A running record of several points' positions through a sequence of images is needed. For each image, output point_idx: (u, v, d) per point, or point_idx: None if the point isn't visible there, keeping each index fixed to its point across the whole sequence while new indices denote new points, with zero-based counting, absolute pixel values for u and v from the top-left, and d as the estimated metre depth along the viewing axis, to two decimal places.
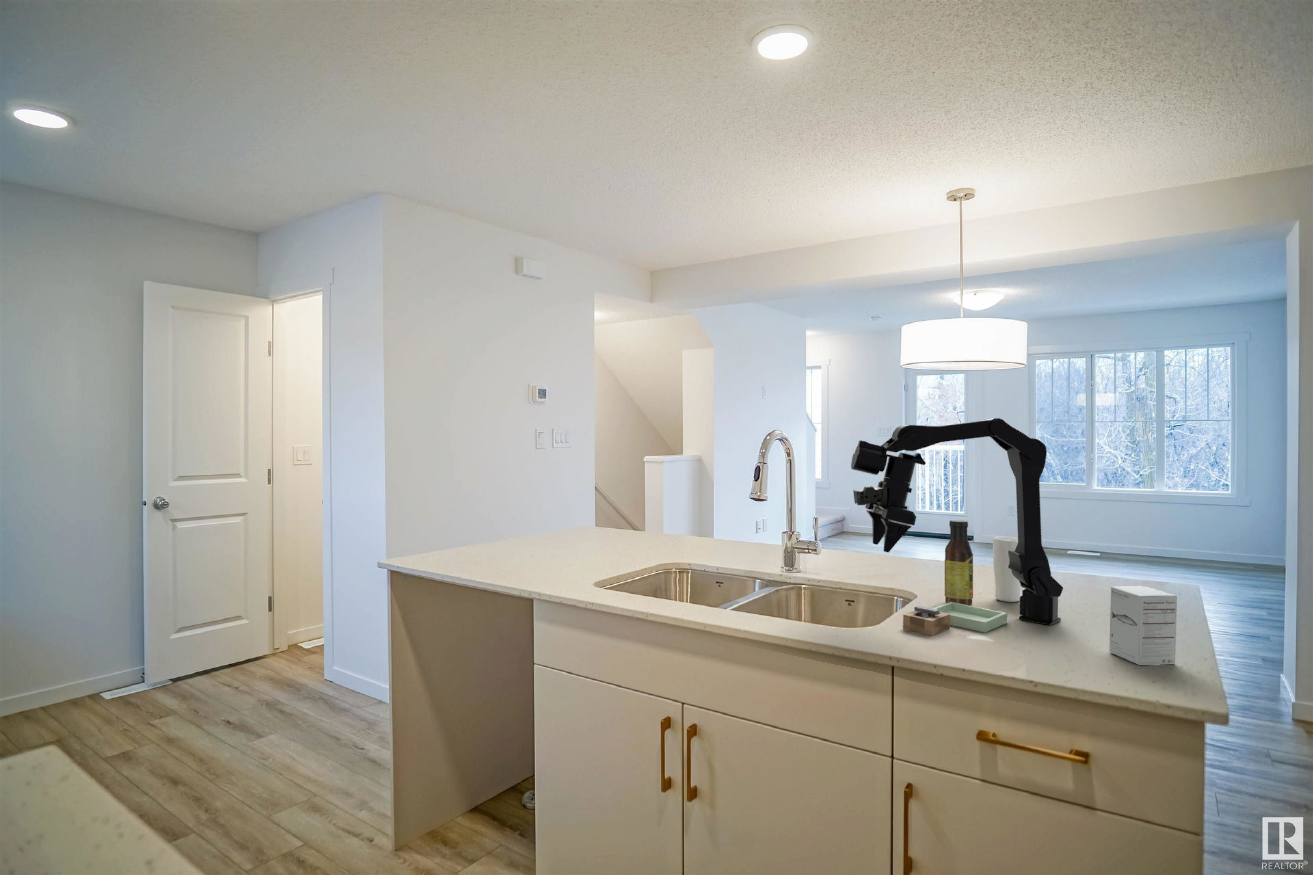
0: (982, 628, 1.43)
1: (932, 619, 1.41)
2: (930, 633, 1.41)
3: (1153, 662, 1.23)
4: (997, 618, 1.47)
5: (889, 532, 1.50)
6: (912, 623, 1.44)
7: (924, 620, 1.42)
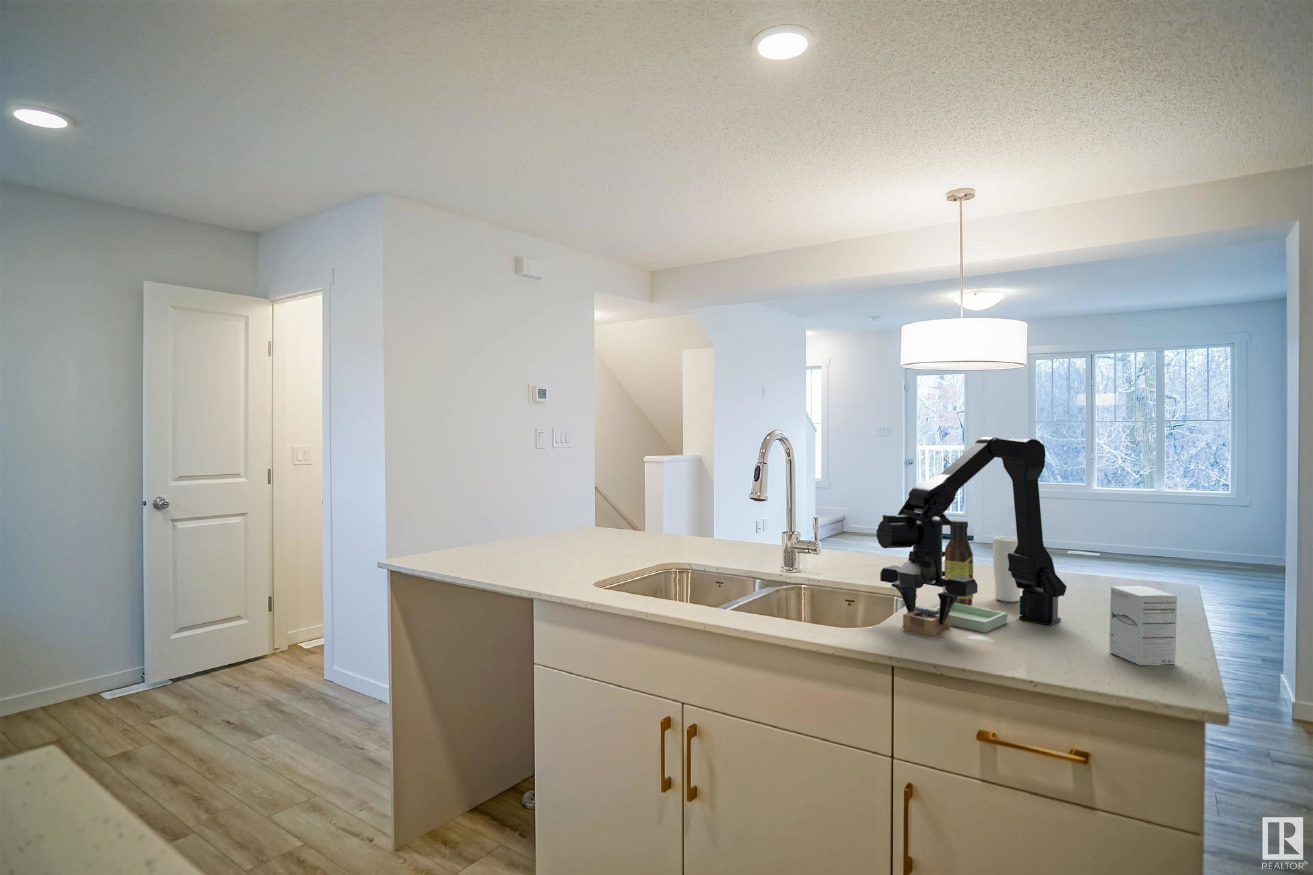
0: (982, 628, 1.43)
1: (932, 619, 1.41)
2: (930, 633, 1.41)
3: (1153, 662, 1.23)
4: (997, 618, 1.47)
5: (946, 605, 1.41)
6: (912, 623, 1.44)
7: (924, 620, 1.42)
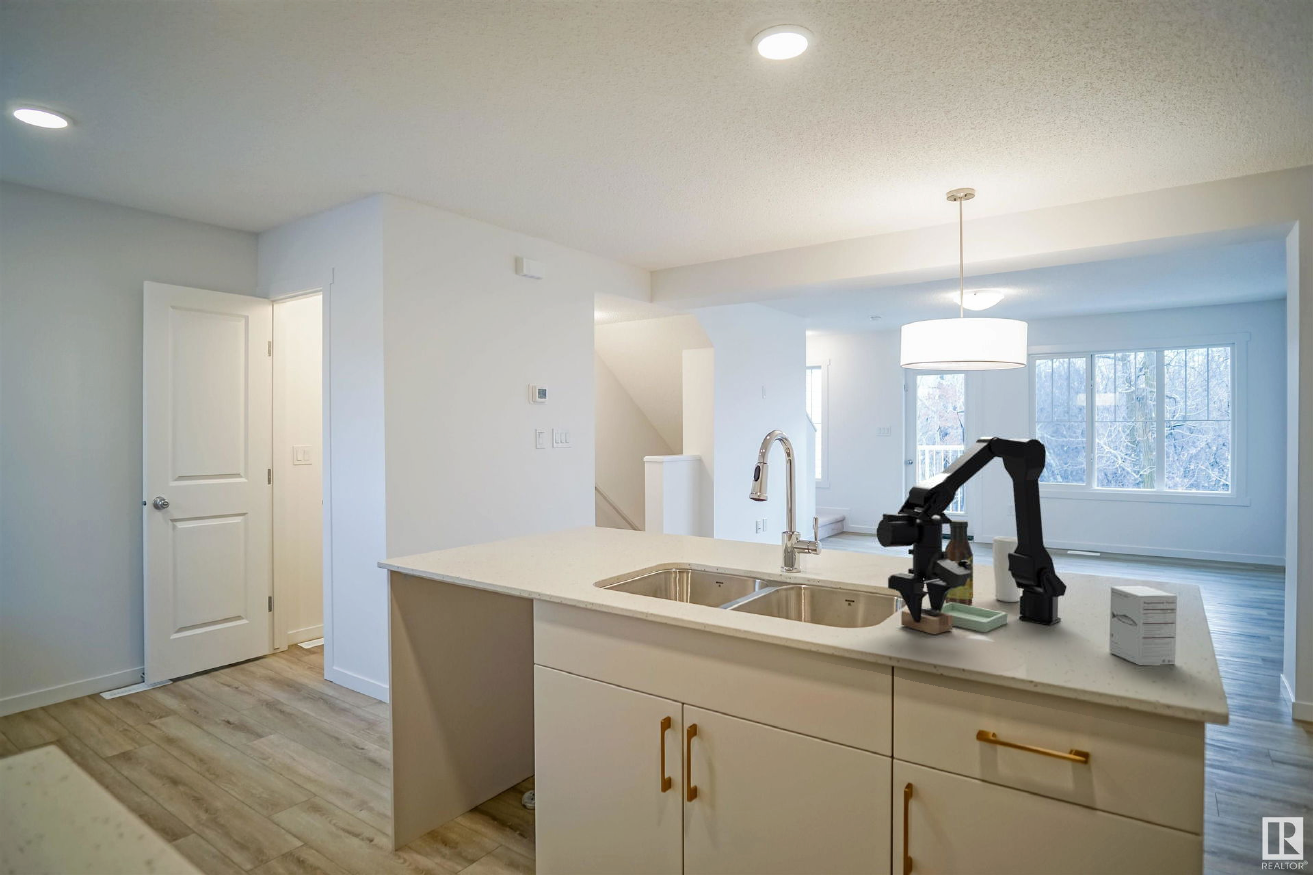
0: (982, 628, 1.43)
1: (946, 614, 1.44)
2: (951, 627, 1.44)
3: (1153, 662, 1.23)
4: (997, 618, 1.47)
5: None
6: (940, 624, 1.42)
7: (948, 617, 1.43)
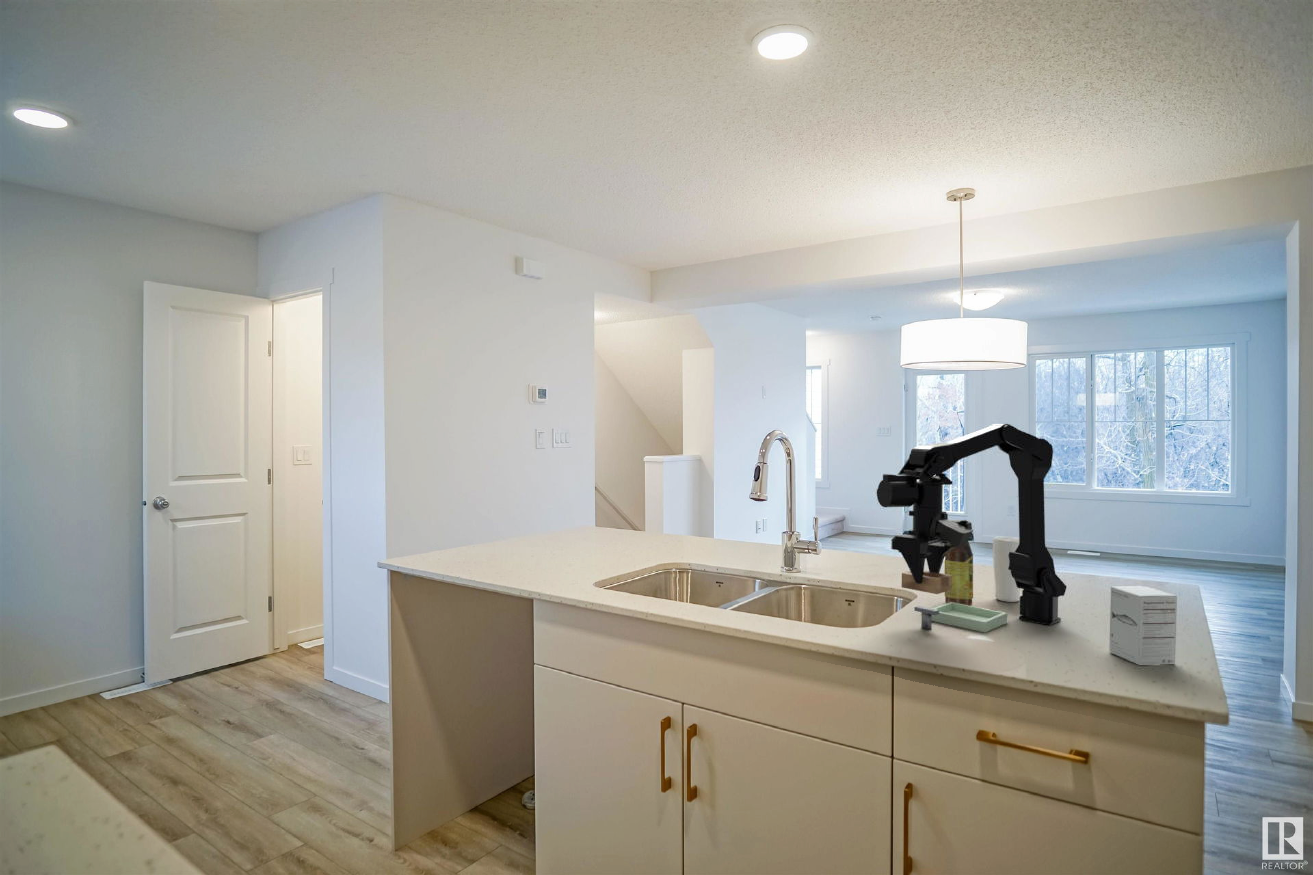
0: (982, 628, 1.43)
1: (946, 574, 1.45)
2: (951, 588, 1.44)
3: (1153, 662, 1.23)
4: (997, 618, 1.47)
5: None
6: (942, 585, 1.42)
7: (948, 577, 1.43)
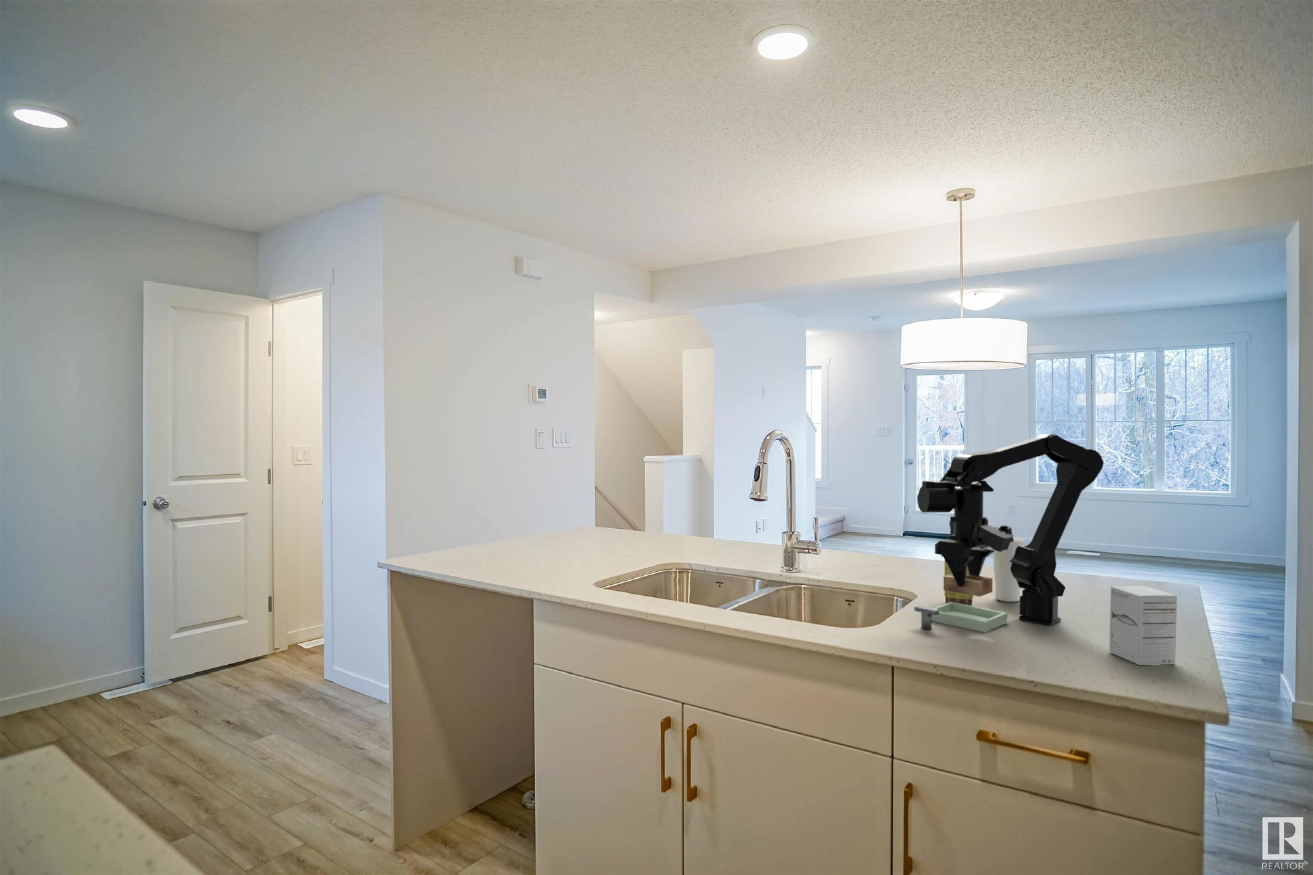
0: (982, 628, 1.43)
1: (986, 577, 1.51)
2: (991, 590, 1.50)
3: (1153, 662, 1.23)
4: (997, 618, 1.47)
5: None
6: (983, 587, 1.47)
7: (989, 580, 1.49)
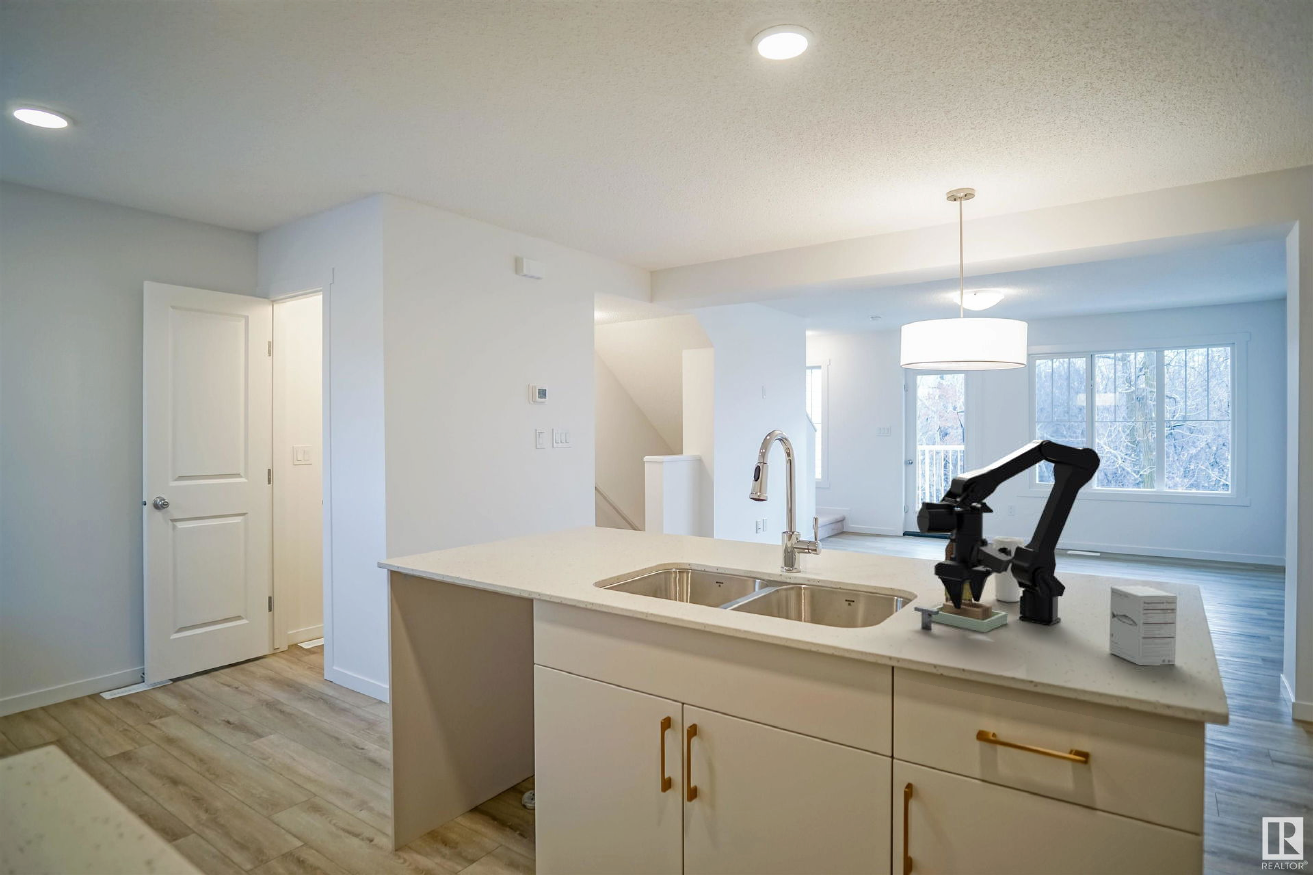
0: (982, 628, 1.43)
1: (985, 605, 1.51)
2: None
3: (1153, 662, 1.23)
4: (997, 618, 1.47)
5: None
6: (983, 615, 1.47)
7: (988, 608, 1.49)
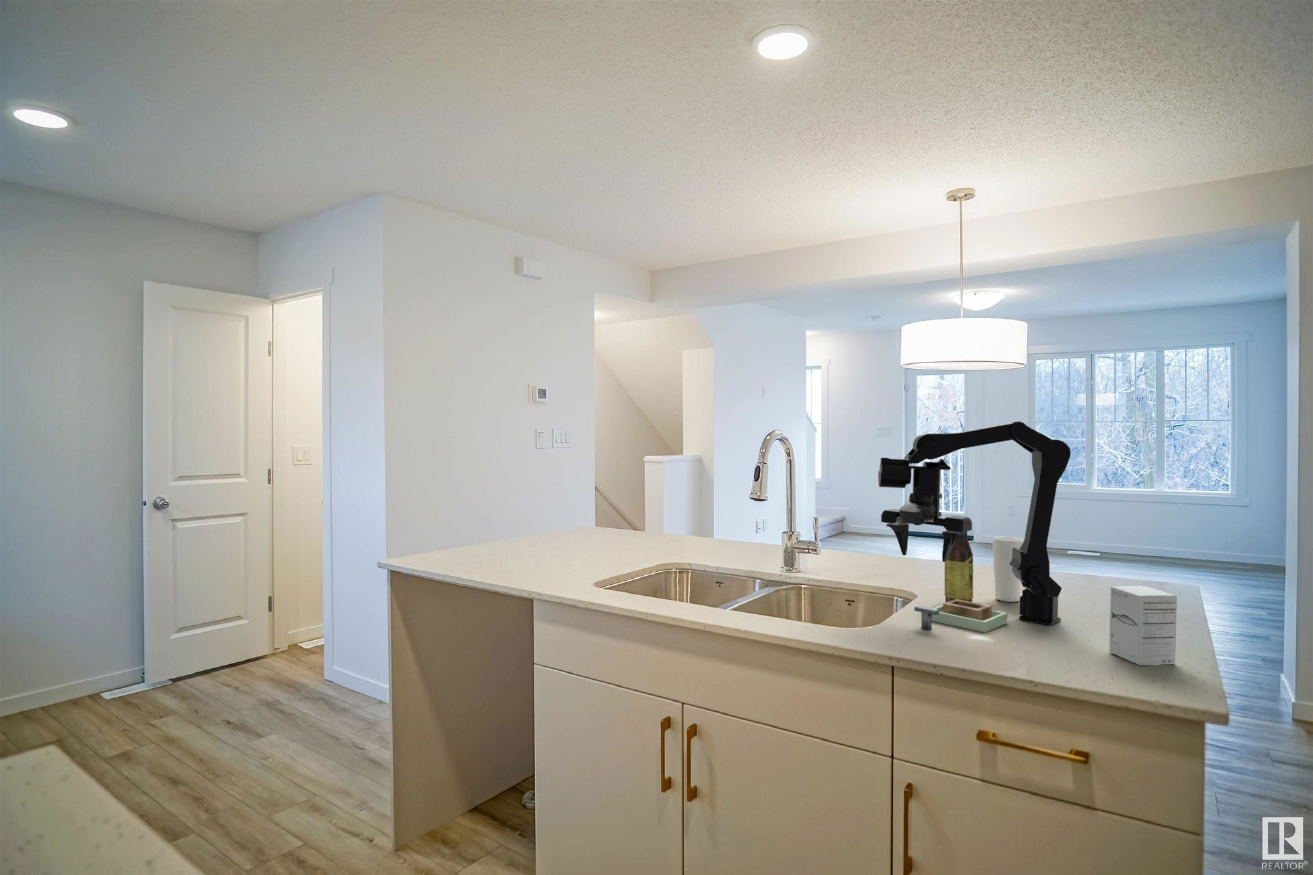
0: (982, 628, 1.43)
1: (985, 605, 1.51)
2: None
3: (1153, 662, 1.23)
4: (997, 618, 1.47)
5: None
6: (983, 615, 1.47)
7: (988, 608, 1.49)
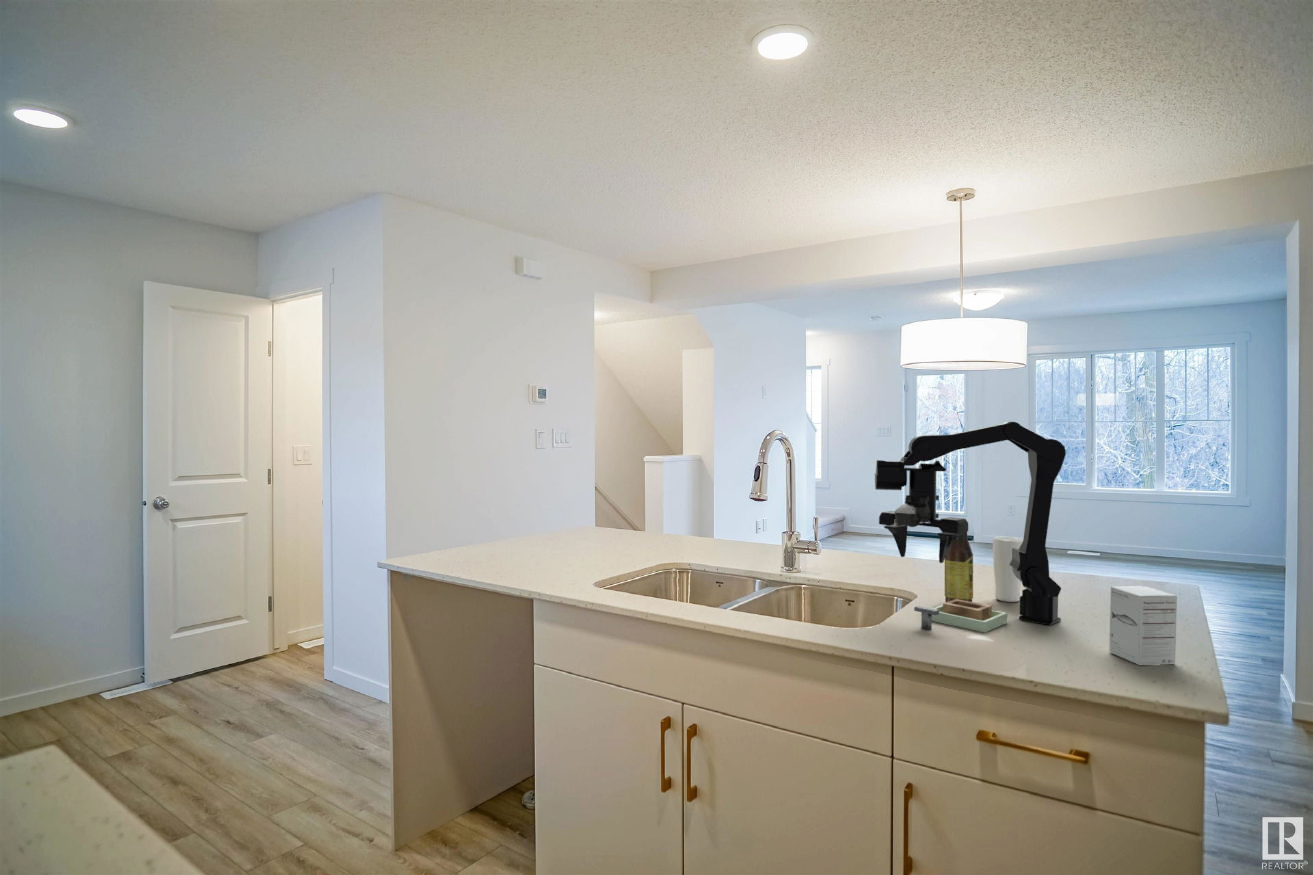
0: (982, 628, 1.43)
1: (985, 605, 1.51)
2: None
3: (1153, 662, 1.23)
4: (997, 618, 1.47)
5: (946, 544, 1.53)
6: (983, 615, 1.47)
7: (988, 608, 1.49)
